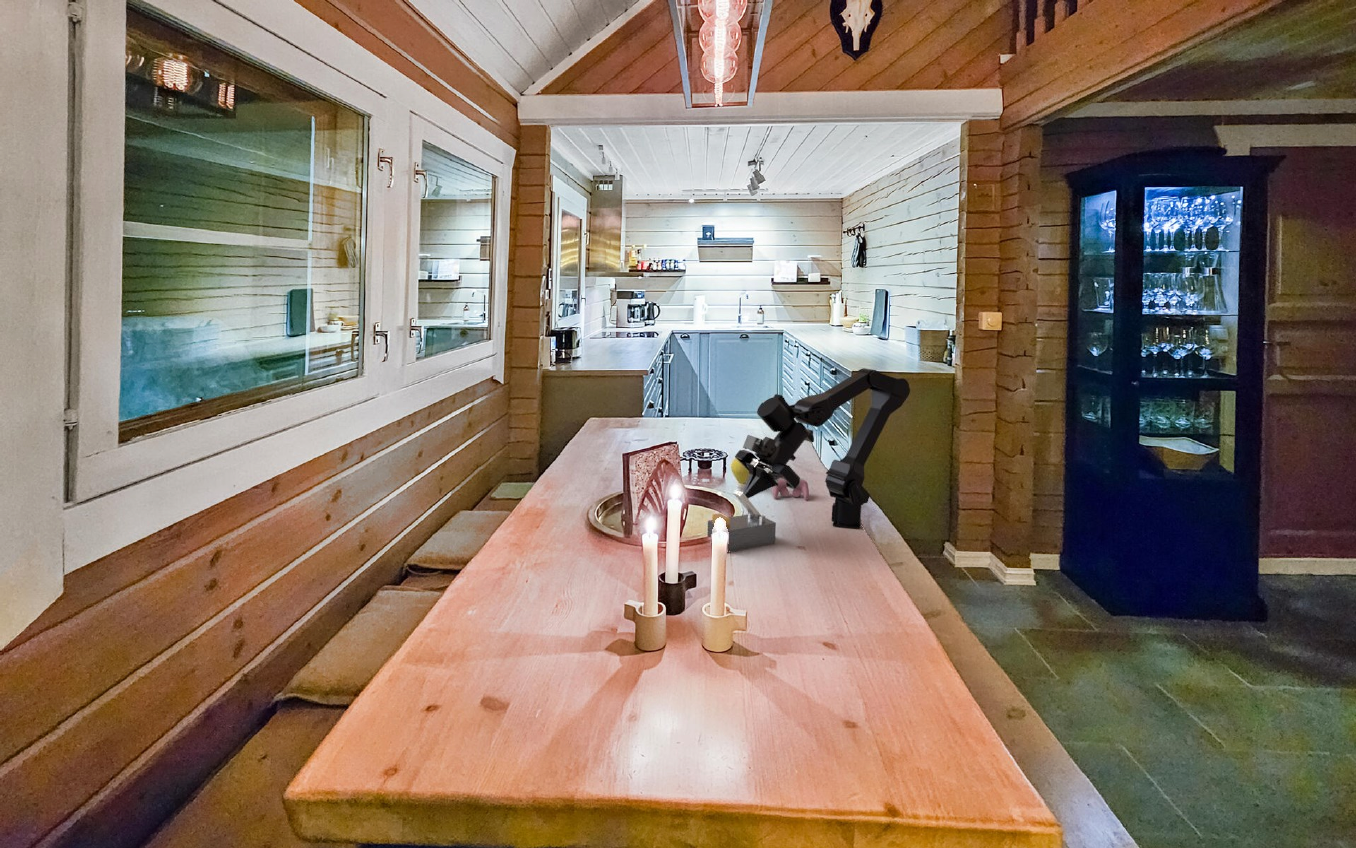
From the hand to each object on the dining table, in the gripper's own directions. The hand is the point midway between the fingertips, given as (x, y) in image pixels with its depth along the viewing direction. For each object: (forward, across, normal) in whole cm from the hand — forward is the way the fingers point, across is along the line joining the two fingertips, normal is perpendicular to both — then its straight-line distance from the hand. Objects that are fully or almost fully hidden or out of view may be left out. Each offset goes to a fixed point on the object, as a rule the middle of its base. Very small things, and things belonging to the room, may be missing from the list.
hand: (744, 497), depth 166 cm
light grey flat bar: (+1, 0, +2) cm, 2 cm away
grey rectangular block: (+8, 0, +7) cm, 11 cm away
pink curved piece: (-14, -25, +31) cm, 42 cm away
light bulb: (-9, -38, +25) cm, 46 cm away
